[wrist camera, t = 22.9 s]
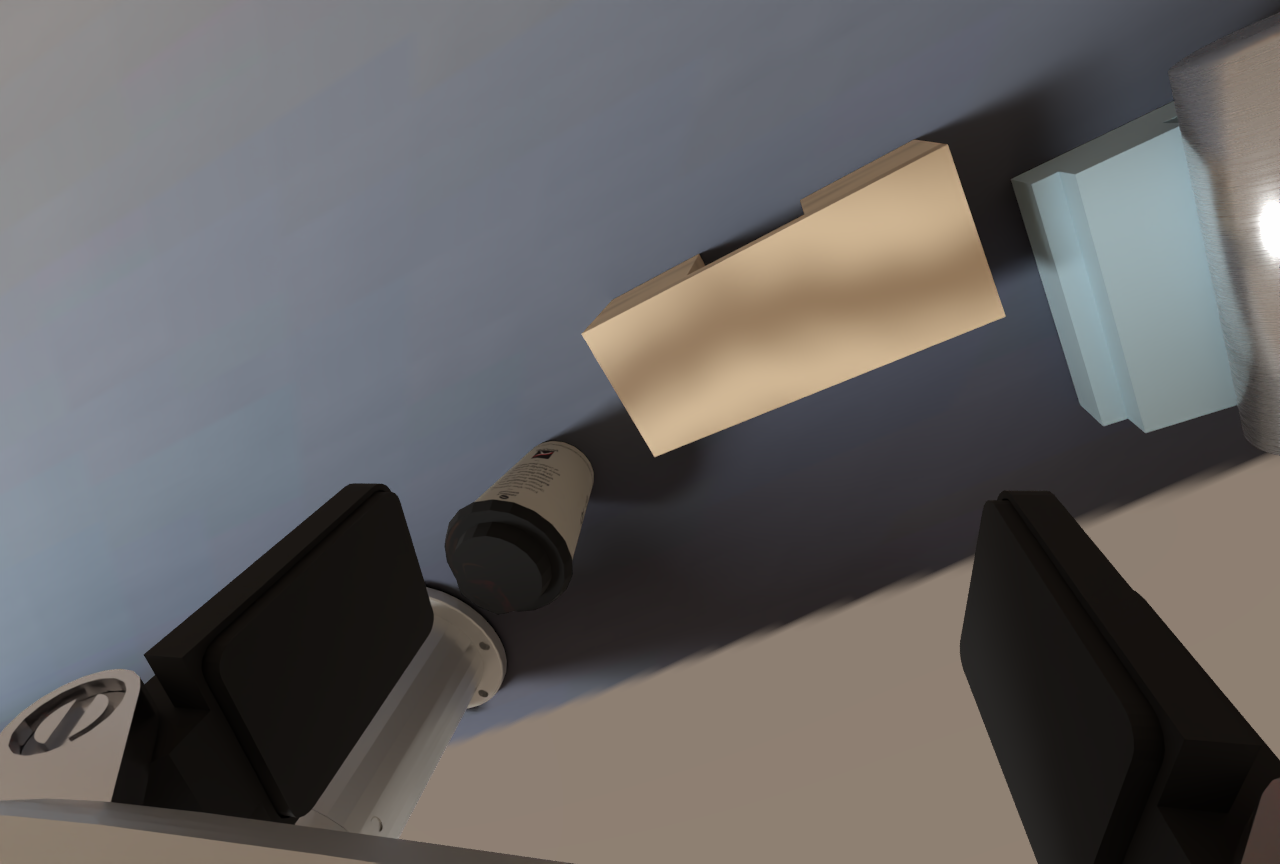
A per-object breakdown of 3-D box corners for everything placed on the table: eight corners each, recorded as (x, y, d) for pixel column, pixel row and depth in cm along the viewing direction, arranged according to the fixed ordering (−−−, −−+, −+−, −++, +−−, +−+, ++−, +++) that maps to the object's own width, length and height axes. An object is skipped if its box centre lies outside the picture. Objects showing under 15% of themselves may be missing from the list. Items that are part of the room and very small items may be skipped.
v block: (1395, 298, 26) (1491, 326, 22) (1079, 404, 30) (1119, 441, 27) (1365, 9, 22) (1475, -12, 19) (1010, 179, 27) (1045, 188, 23)
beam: (964, 280, 29) (1005, 316, 24) (672, 406, 35) (654, 457, 30) (913, 139, 27) (947, 144, 21) (612, 299, 33) (581, 334, 28)
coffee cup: (533, 403, 37) (457, 492, 28) (631, 461, 37) (587, 565, 28) (492, 483, 40) (414, 583, 31) (583, 534, 41) (531, 648, 32)
